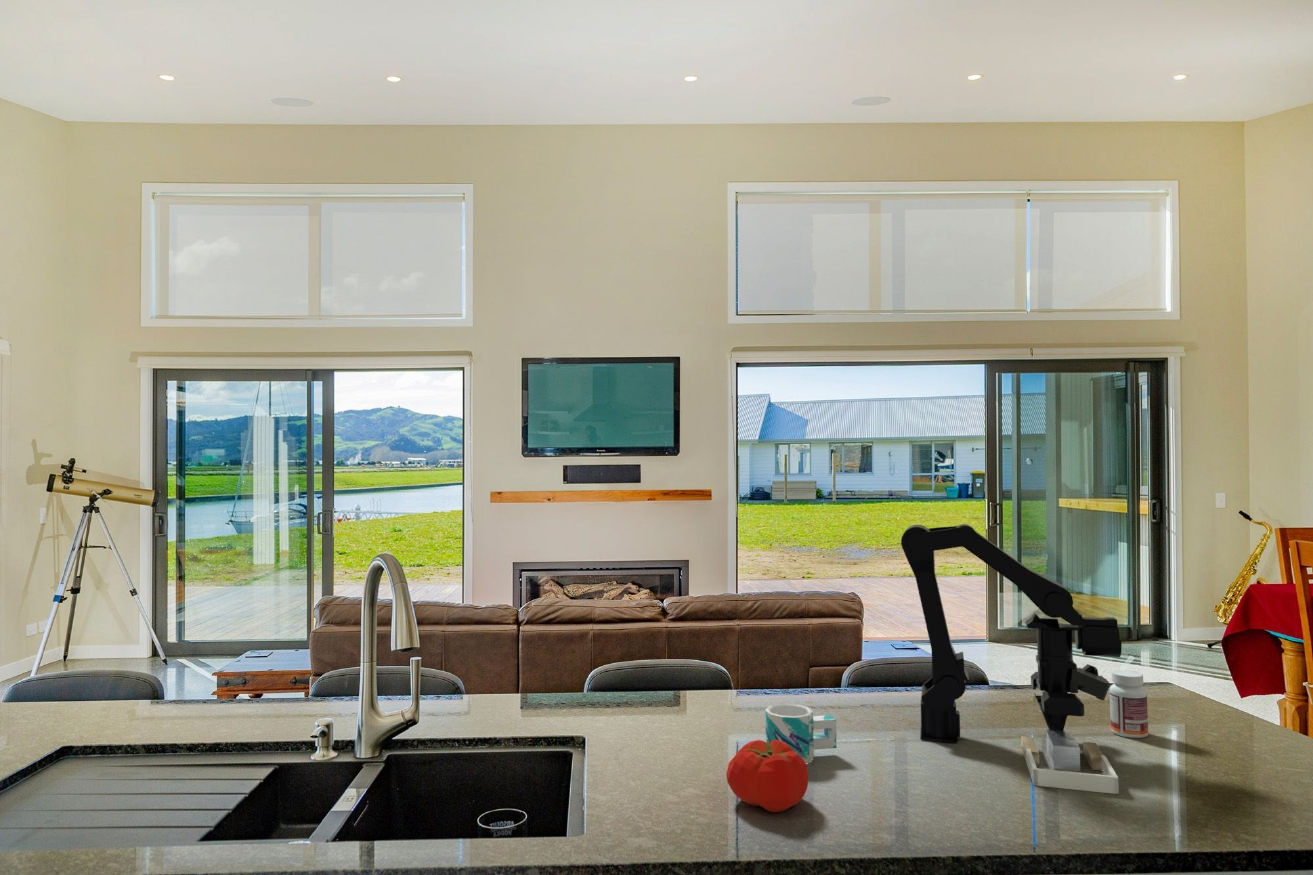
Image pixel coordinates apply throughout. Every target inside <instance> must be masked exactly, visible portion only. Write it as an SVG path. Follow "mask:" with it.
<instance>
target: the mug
mask: <svg viewBox="0 0 1313 875" xmlns="http://www.w3.org/2000/svg"><path fill="white" fill-rule="evenodd" d="M814 730H823V734H814ZM767 740H768V741H769V743H770V742H771V741H773V740H779V741H782V742H785V743H786V744H787V745H789V746H790V747H791V748H792V749H793V750H794V751H795V753H798V754H799V755H800V756H801V757H802V758H803V759H804V761H805V763H810V761H812V759H813V760H815V758H814V756H815V753H814V751H815V750H827V749H837V719H836V718H835V717H834V716H832V715H831V714H829V715H828V714H827V715H814V711H813V710H812V709H811V707H808V706H806V705H801V704H797V703H779V704H778V703H777V704H772V705H769V706H768V707H767V708H766V709H765V742H766V743H767ZM812 762H813V761H812ZM810 764H811V763H810Z"/></svg>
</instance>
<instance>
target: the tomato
mask: <svg viewBox="0 0 1313 875" xmlns="http://www.w3.org/2000/svg"><path fill="white" fill-rule="evenodd" d="M807 765H808V764H807ZM807 765H806V763H805V761H804V759H803V758H802V757H801V756H800V755H799V754H798V753H795V751H794V750H793V749H792V748H791V747H790V746H789V745H787V744H786V743H785V742H782V741H779V740H773V741H771V742H770V743H769V741H768V740H767V743H766V741H764V740H761V739H756V740H751V741H748V742H747V743H746V744H744V745H742V747H741V748H740V749H738V751H737V752H736V753H735V755H734V756H733V757H732V758H731V760H729V762H728V765H727V768H726V769H727V770H726V773H725V774H726V781H727V782H726V783H727V785H728V786H729V787H730V789H731V791H732V793H733V794H734V795H735V796H736V797H737V798H738V799H740V800H741V801H743V802H745V803H747V804H749V805H751V806H755V807H758V806H759V807H762V808H763V809H764V810H766V811H768V812H771V813H776V812H777V813H780V812H784V811H786V810H787V809H789V808H791V807H793V806H796V805H798V804H799V802H801V800H802V799H803V798H804V797H805V794H806V792H807V789H808V786H809V770H808V769H809V768H808V766H807Z"/></svg>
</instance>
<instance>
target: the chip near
mask: <svg viewBox="0 0 1313 875" xmlns="http://www.w3.org/2000/svg"><path fill="white" fill-rule="evenodd" d="M1080 754H1081V748H1080V746H1079V744H1078V742H1077V740H1076V739H1075V740H1069V739H1057V738H1050V759H1049V760H1050V764H1051V767H1052V770H1058V771H1068V772H1078V773H1081V755H1080Z"/></svg>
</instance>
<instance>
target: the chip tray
mask: <svg viewBox="0 0 1313 875" xmlns="http://www.w3.org/2000/svg"><path fill="white" fill-rule="evenodd" d="M1026 762H1027V763H1026ZM1025 763H1026V765H1027V769H1028V772H1029V776H1030V777H1031V781H1032V785H1033V786H1037V787H1046V788H1047V787H1048V788H1055V789H1056V788H1057V789H1066V790H1076V791H1084V792H1094V793H1104V794H1114V795H1119V792H1120V790H1119V789H1120V788H1119V787H1120V786H1119V776H1118V775H1117V773H1116V772H1115V769H1114V768H1113V767H1112V765H1111V763H1110V761H1109V760H1108V758H1107V756H1106V755H1101V770H1100V771H1101V773H1102V774H1096V773H1089V772H1088V773H1087V772H1077V771H1067V770H1056V769H1046V768H1045V769H1044V768H1037V764H1035V761H1034V759H1033V756H1032V753H1031V750H1030V749H1027V748H1026V760H1025Z"/></svg>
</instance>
